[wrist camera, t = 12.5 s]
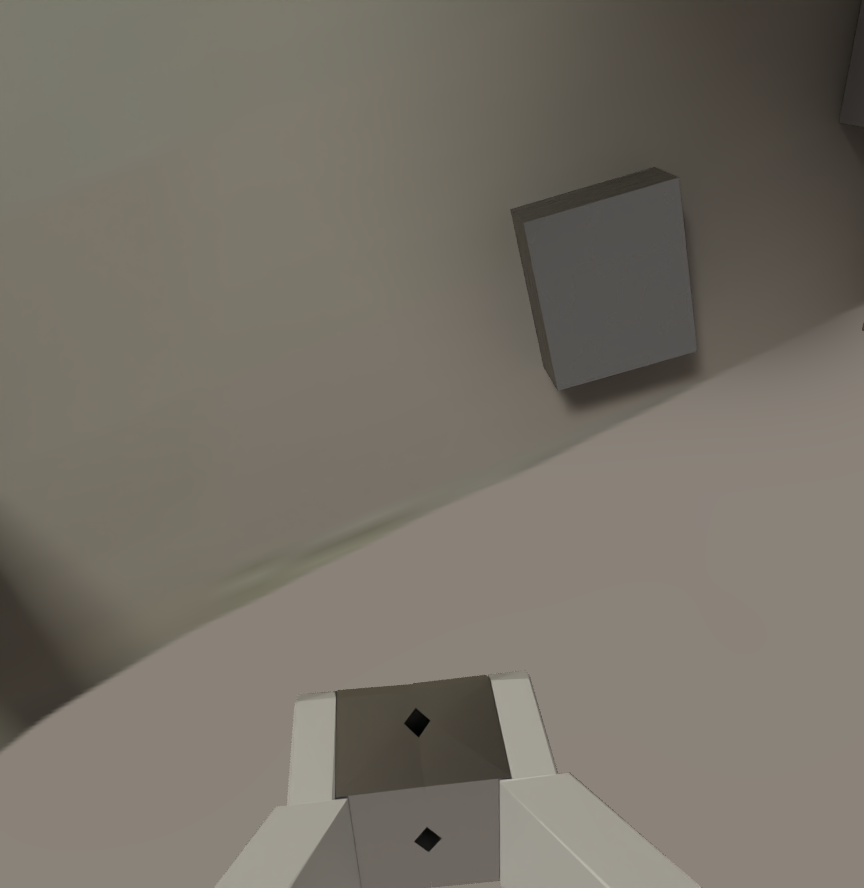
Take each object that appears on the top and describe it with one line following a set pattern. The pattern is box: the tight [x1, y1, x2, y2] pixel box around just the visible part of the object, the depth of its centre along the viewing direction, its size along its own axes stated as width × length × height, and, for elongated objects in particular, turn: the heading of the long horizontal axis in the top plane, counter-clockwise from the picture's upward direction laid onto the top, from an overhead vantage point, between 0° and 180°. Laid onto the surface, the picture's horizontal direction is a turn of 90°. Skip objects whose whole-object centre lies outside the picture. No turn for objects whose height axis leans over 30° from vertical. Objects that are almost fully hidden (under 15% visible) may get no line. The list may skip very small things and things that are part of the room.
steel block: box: [510, 167, 697, 391], centre depth 27 cm, size 6×5×2 cm
